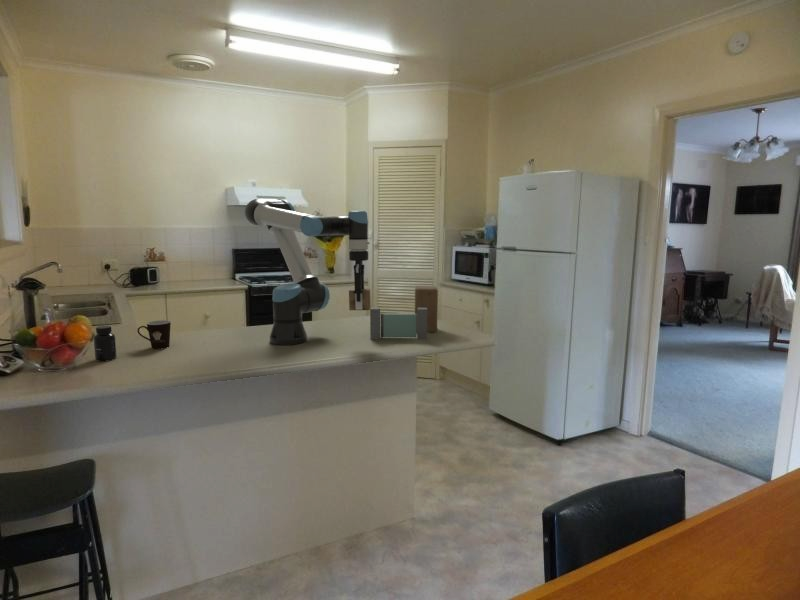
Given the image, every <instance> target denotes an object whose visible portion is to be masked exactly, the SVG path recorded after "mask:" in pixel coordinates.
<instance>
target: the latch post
mask: <svg viewBox="0 0 800 600" xmlns="http://www.w3.org/2000/svg"><path fill="white" fill-rule="evenodd" d="M416 338H417V340H428V333H427V308H418V319H417V332H416Z"/></svg>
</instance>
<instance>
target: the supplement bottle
mask: <svg viewBox="0 0 800 600" xmlns="http://www.w3.org/2000/svg"><path fill="white" fill-rule="evenodd" d="M112 332H113V330H112V326H111V325H100V326H96V327H95V333H96V334H95V335H94V336H93V350H94V359H95V361H97V360H99V361H98V362H107V361H106V360H110V361H113V360H112V359H114V360H115V359H116V358H117V342H116V335H115V333H112Z"/></svg>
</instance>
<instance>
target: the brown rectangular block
mask: <svg viewBox="0 0 800 600" xmlns="http://www.w3.org/2000/svg"><path fill="white" fill-rule="evenodd" d="M354 290H355V288H349V290H348V302H349V303H348V305H349V306H348V307H349V308H348V310H349V311H357V310H356V307H355V293H353V292H354ZM371 305H372V304H371V288H364V289H362V307H363V309H362V310H361V311H370V308H371Z"/></svg>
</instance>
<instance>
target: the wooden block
mask: <svg viewBox="0 0 800 600" xmlns="http://www.w3.org/2000/svg"><path fill="white" fill-rule="evenodd" d="M438 292H439V291H438V289H437V286H436V285H435V286H434V285H425V286H424V285H417V286H415V287H414V314H416V333H417V319H418V308H427V334H429V333H430V334H432V333H435V334H436V333H437V332H438V296H439V295H438V294H439V293H438Z"/></svg>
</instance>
